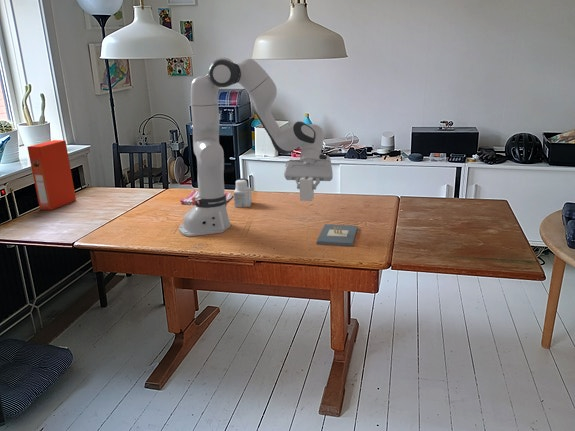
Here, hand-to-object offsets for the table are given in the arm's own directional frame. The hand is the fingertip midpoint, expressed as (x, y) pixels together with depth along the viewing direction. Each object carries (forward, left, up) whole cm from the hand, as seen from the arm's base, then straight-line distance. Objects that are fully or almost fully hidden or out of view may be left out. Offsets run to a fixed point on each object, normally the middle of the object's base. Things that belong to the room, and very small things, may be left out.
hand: (306, 188), depth 209 cm
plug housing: (0, 0, -5) cm, 5 cm away
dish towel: (-22, +66, -19) cm, 73 cm away
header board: (+8, -12, -18) cm, 23 cm away
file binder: (-91, +101, -19) cm, 137 cm away
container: (-9, +49, -19) cm, 53 cm away
